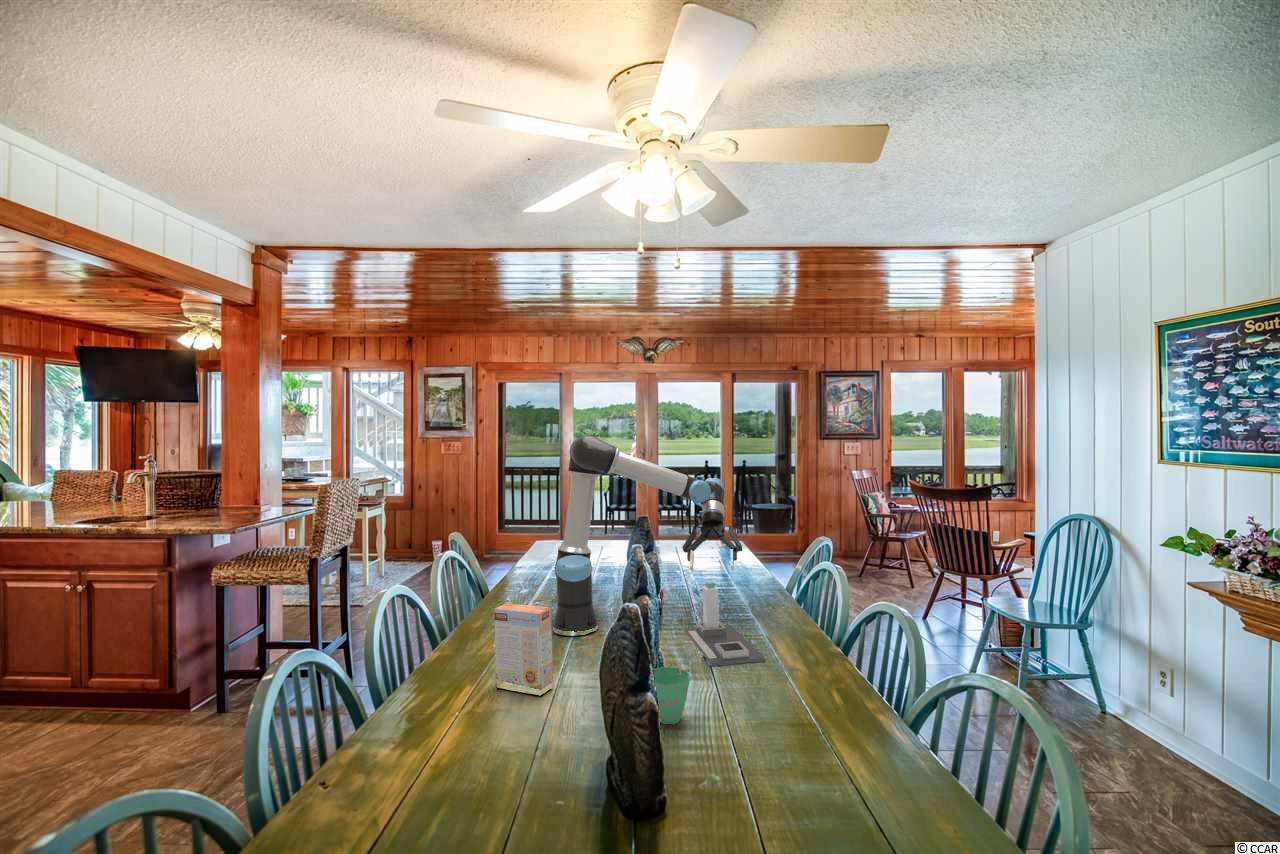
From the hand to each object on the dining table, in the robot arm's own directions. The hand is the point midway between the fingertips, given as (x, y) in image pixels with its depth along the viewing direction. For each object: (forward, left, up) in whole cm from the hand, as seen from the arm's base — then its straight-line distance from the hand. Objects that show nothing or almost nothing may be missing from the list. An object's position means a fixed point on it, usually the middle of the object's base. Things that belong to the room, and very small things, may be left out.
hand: (711, 568), depth 204 cm
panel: (-3, -19, -19) cm, 27 cm away
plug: (-3, -9, -18) cm, 20 cm away
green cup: (-31, -61, -19) cm, 71 cm away
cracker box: (-61, -37, -19) cm, 74 cm away
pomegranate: (-15, +31, -19) cm, 40 cm away
